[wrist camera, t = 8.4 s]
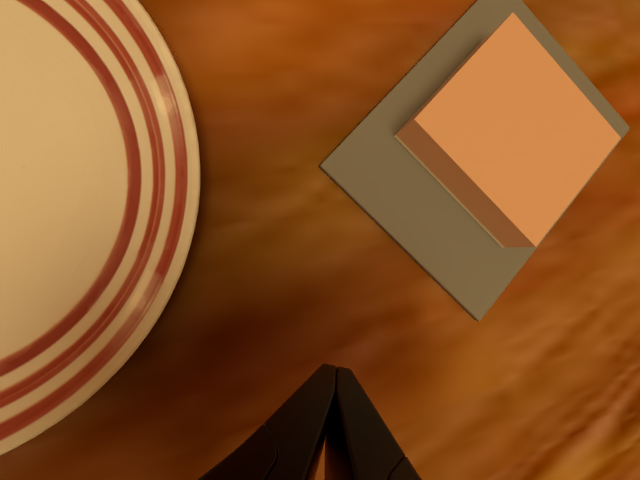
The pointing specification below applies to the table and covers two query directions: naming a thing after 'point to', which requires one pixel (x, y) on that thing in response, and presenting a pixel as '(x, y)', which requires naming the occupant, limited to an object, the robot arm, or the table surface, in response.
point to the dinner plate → (85, 199)
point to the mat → (422, 188)
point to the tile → (510, 136)
